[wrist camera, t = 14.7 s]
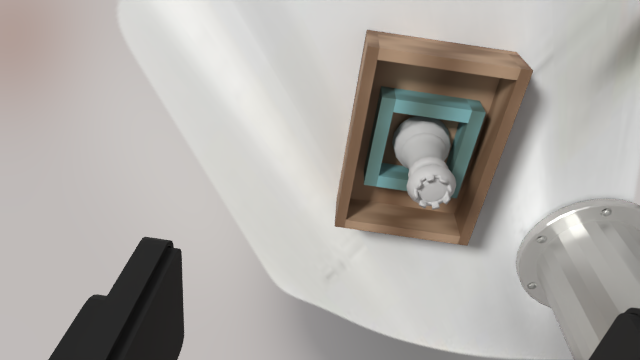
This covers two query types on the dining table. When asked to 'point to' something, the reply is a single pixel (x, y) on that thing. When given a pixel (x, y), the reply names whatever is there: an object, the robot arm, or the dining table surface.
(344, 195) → the walled box
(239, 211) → the dining table surface
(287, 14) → the dining table surface
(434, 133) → the rook chess piece
